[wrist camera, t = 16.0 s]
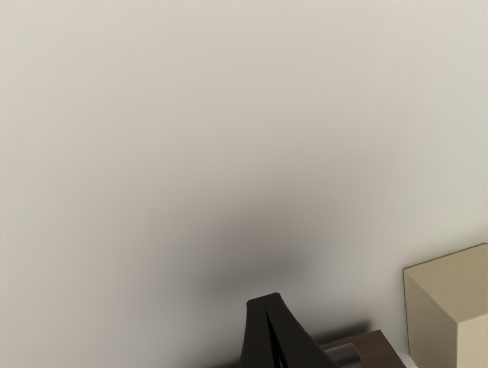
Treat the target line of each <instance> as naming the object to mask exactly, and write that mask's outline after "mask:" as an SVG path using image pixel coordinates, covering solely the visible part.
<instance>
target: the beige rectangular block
mask: <svg viewBox="0 0 488 368" xmlns="http://www.w3.org/2000/svg"><path fill="white" fill-rule="evenodd" d="M403 273H404V286H405V299H406V312H407V325H408V338H409V351H410V357H411V358H412V360H413V361H414V362H415V364H416V365H417V367H418V368H488V243H486V244H482V245H479V246H476V247H473V248H470V249H467V250H463V251H460V252H457V253H454V254H451V255H448V256H444V257H441V258H438V259H435V260H432V261H429V262H425V263H422V264H419V265H416V266H413V267H410V268H407V269H404V270H403Z"/></svg>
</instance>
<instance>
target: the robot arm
mask: <svg viewBox="0 0 488 368" xmlns="http://www.w3.org/2000/svg"><path fill="white" fill-rule="evenodd" d="M246 306H247V316H246V328H245V336H244V342H243V349H242V354H241V359H240V363H239V368H281V364H280V360H281V363H282V366H283V368H341V367H340V366H339V365H338V364H337V363H336V362H335V361H334V360H333V359H332V358H331V357H329V356H328V355H327V354H326V353H325V352H324V351H323V350H322V348H321V347H320V346H319V345H318V344H317V343H316V342H315V341H314V340H313V339H312V338H311V337H310V336H309V334H308V333H307V332H306V331H305V330H304V328H303V327H302V326H301V325H300V324H299V322H298V321H297V320H296V319H295V317H294V316H293V315H292V313H291V312H290V310H289V309H288V307H287V306H286V304H285V303H284V301H283V299H282V298H281V296H280V294H279V293H277V292H275V293H272V294H269V295H265V296H262V297H258V298H255V299H251V300H248V302H247V303H246ZM279 358H280V359H279Z"/></svg>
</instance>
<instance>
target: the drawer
mask: <svg viewBox="0 0 488 368" xmlns="http://www.w3.org/2000/svg"><path fill="white" fill-rule="evenodd" d="M321 348H322V350H323V351H324V352H325V353H326V354H327V355H328V356H329V357H331V358H332V359H333V360H334V361H335V362H336V363H337V364H338V365H339V366H340V367H341V368H406V367H405V365H404V364H403V362H402V361H401V359H400V358H399V356H398V355H397V354H396V352H395V351H394V349H393V348H392V346H391V345H390V343H389V342H388V340H387V339H386V337H385V336H384V335H383V333H382V332H381V330H376V331H373V332H369V333H366V334H363V335H359V336H356V337H353V338H349V339H346V340H343V341H339V342H336V343H332V344H329V345H326V346H322V347H321ZM280 364H281V368H283V366H282V363H281V360H280Z"/></svg>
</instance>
